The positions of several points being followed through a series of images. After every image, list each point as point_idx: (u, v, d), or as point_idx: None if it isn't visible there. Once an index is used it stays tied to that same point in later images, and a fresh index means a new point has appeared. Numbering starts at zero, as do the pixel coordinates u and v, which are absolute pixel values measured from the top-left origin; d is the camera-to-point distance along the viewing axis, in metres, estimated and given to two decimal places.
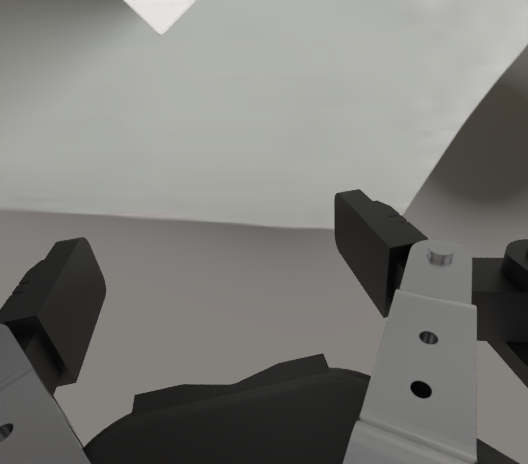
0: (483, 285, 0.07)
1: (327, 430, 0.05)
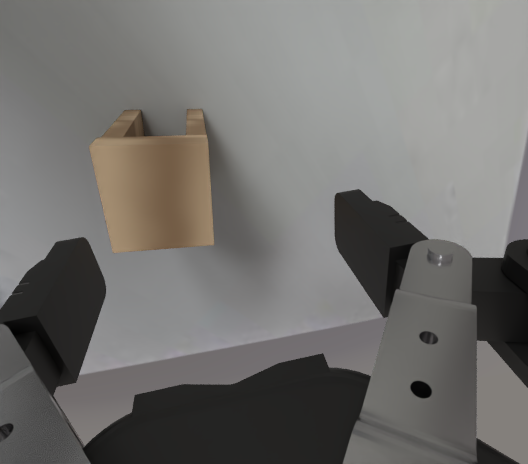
0: (483, 285, 0.07)
1: (327, 430, 0.05)
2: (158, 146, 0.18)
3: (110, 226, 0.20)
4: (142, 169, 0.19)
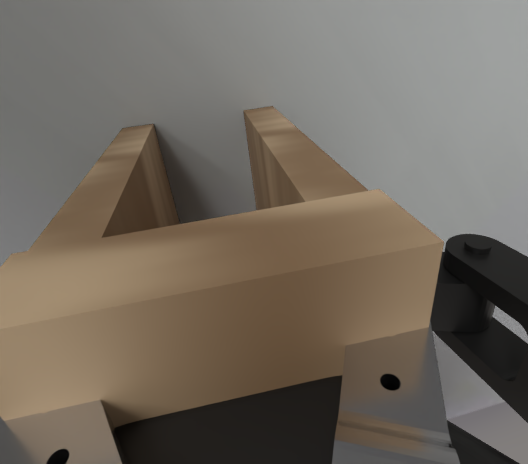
0: None
1: (327, 430, 0.05)
2: (243, 286, 0.04)
3: None
4: (185, 371, 0.05)
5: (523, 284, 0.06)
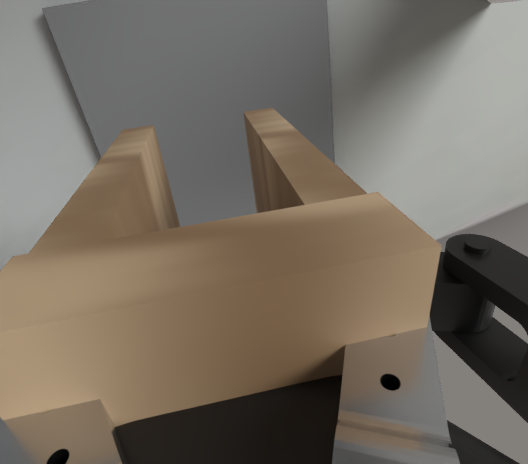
0: None
1: (327, 430, 0.05)
2: (242, 289, 0.04)
3: None
4: (184, 374, 0.05)
5: (523, 284, 0.06)
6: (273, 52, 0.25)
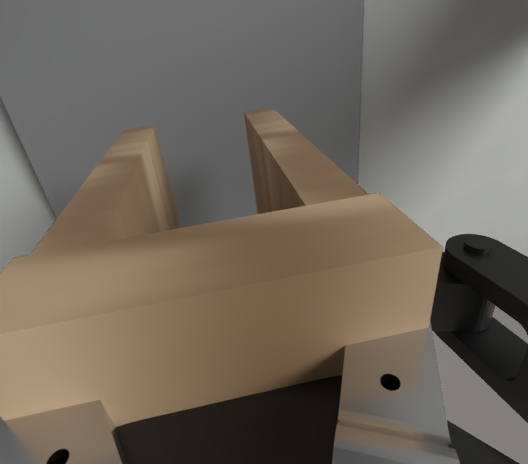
0: None
1: (327, 430, 0.05)
2: (244, 291, 0.04)
3: None
4: (186, 375, 0.05)
5: (523, 284, 0.06)
6: (285, 54, 0.18)
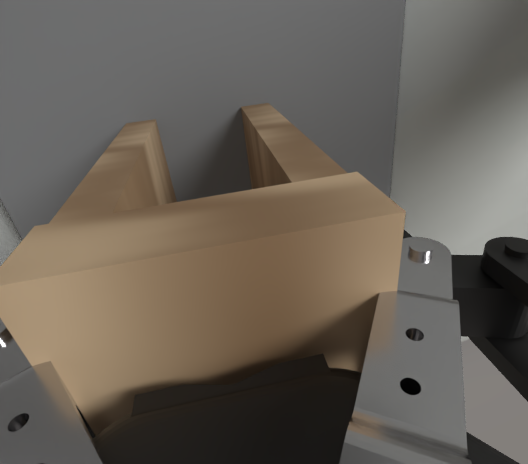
0: (462, 281, 0.07)
1: (327, 430, 0.05)
2: (235, 247, 0.05)
3: None
4: (185, 324, 0.06)
5: None
6: (308, 61, 0.15)
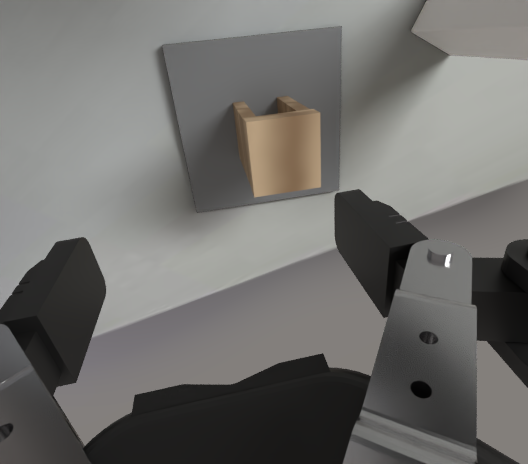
0: (483, 285, 0.07)
1: (327, 430, 0.05)
2: (288, 118, 0.28)
3: (254, 178, 0.30)
4: (277, 135, 0.28)
5: None
6: (304, 80, 0.37)
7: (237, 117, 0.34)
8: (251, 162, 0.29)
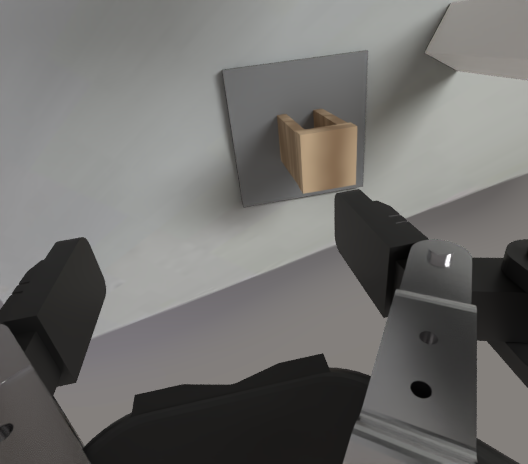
0: (483, 285, 0.07)
1: (327, 430, 0.05)
2: (332, 131, 0.35)
3: (303, 178, 0.37)
4: (323, 144, 0.36)
5: None
6: (336, 95, 0.45)
7: (284, 128, 0.42)
8: (302, 166, 0.37)
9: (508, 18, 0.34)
